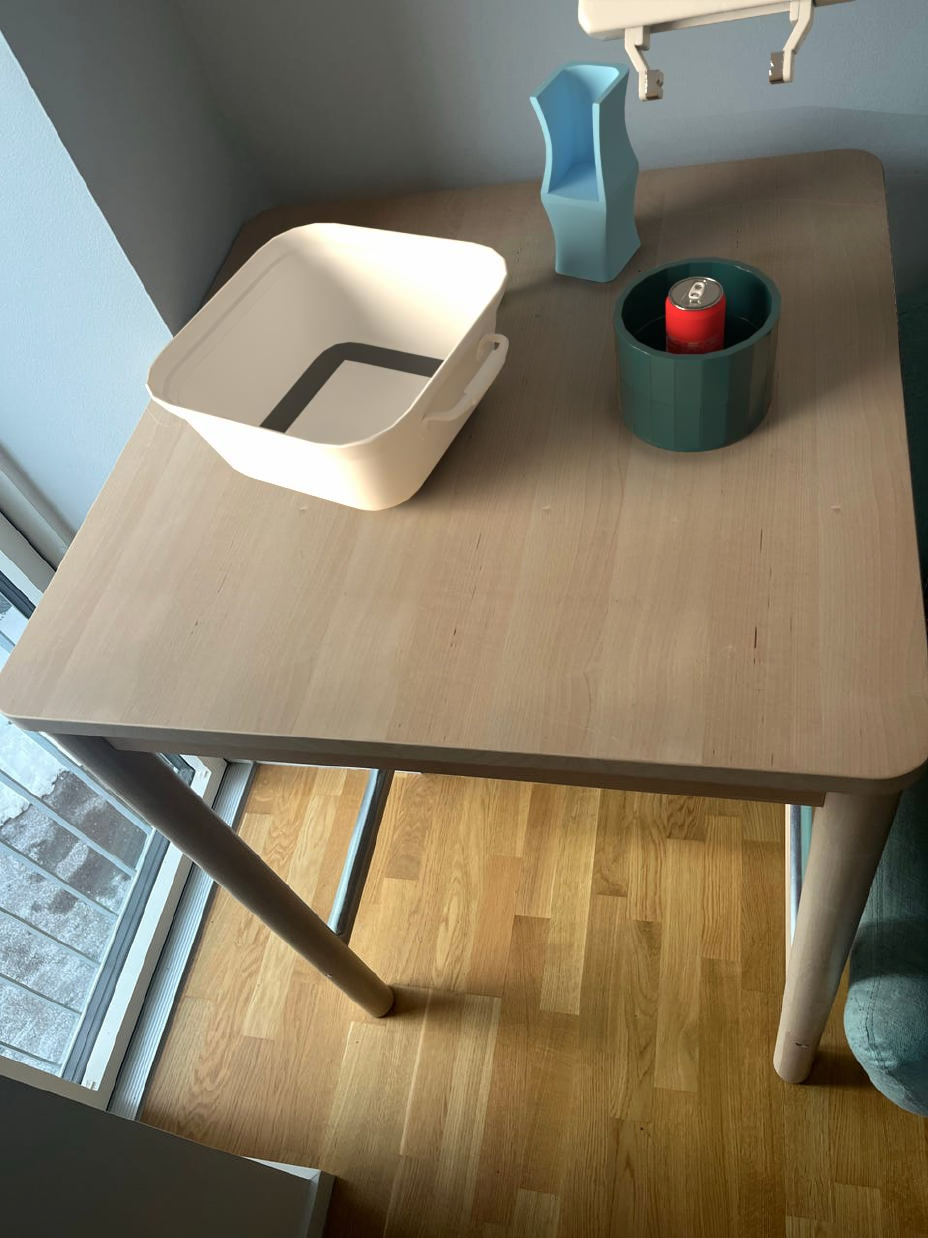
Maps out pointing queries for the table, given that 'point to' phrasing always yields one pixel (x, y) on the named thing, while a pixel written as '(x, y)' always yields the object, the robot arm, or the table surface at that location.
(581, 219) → the vase
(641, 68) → the robot arm
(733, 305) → the enamel pot
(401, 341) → the white storage bin
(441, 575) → the table surface
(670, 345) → the beverage can
